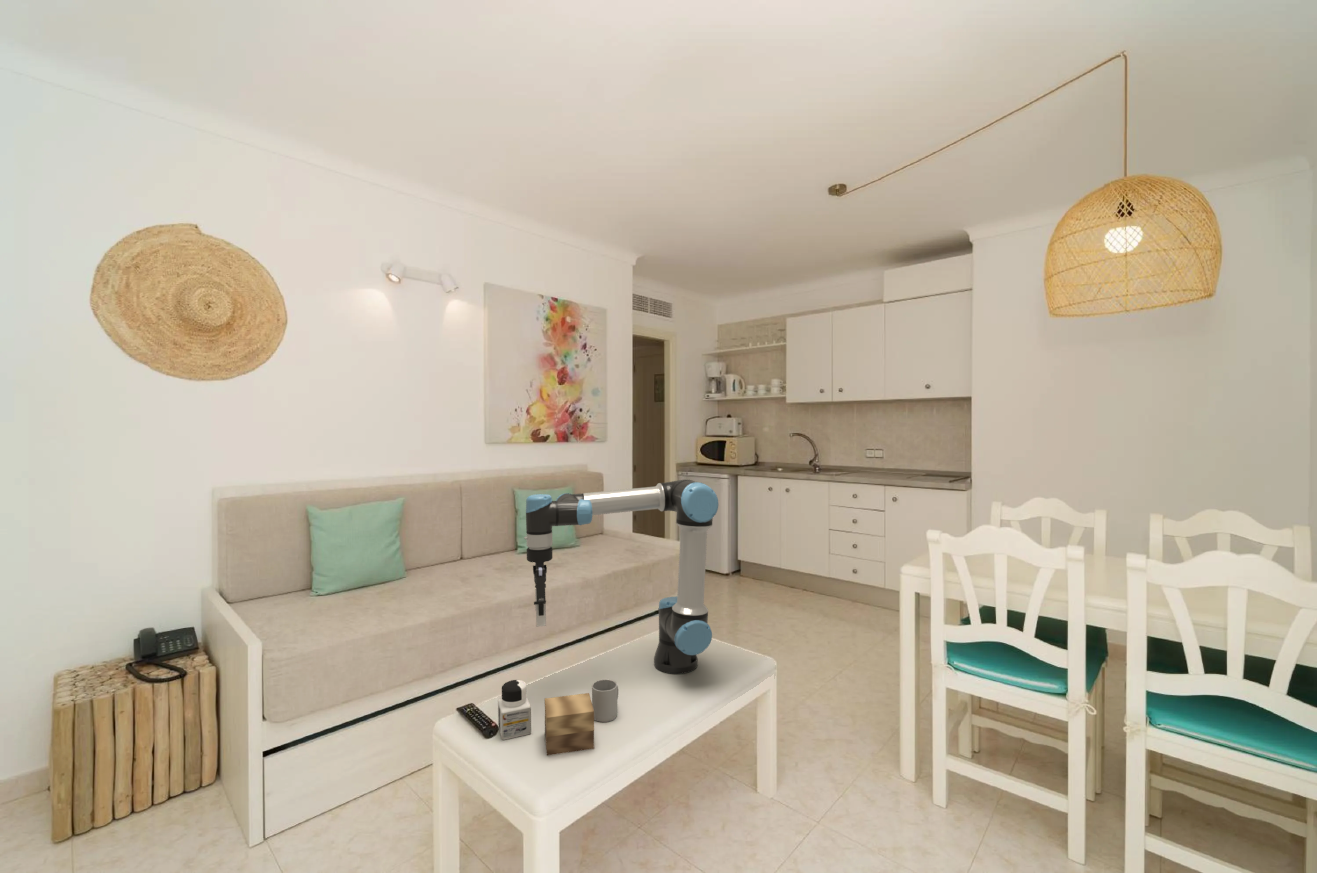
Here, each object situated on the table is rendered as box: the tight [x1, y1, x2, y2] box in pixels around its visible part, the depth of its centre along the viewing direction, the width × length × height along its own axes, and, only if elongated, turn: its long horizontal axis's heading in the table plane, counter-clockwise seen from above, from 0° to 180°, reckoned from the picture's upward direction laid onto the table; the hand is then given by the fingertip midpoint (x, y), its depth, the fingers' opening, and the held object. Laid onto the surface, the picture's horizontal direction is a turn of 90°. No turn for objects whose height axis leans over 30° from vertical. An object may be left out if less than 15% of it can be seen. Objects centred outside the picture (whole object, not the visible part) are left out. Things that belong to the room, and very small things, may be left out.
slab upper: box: [544, 692, 595, 737], centre depth 147 cm, size 12×10×5 cm
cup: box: [591, 678, 619, 723], centre depth 160 cm, size 7×10×9 cm
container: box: [497, 679, 532, 741], centre depth 152 cm, size 8×8×13 cm
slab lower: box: [544, 722, 595, 757], centre depth 147 cm, size 12×10×5 cm
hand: (540, 617), depth 166 cm, fingers open, 13 cm apart
